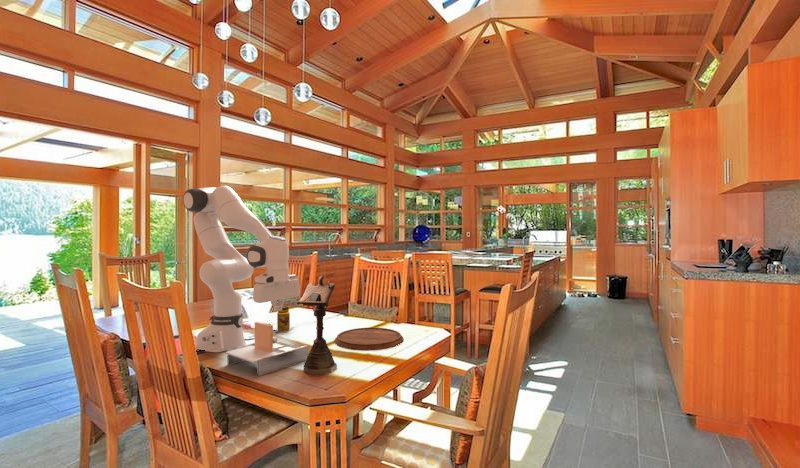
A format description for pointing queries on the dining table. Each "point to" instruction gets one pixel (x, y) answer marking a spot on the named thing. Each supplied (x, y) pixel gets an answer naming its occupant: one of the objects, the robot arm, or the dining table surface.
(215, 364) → the dining table surface
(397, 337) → the cutting board
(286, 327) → the condiment
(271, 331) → the sliding cover
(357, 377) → the dining table surface
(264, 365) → the grey metal tray
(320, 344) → the dark ornate pedestal stand
